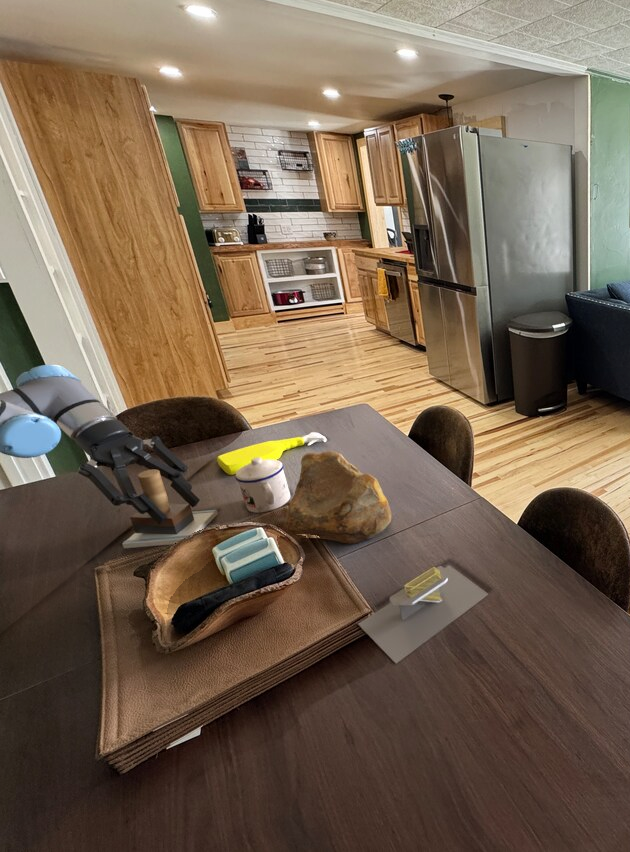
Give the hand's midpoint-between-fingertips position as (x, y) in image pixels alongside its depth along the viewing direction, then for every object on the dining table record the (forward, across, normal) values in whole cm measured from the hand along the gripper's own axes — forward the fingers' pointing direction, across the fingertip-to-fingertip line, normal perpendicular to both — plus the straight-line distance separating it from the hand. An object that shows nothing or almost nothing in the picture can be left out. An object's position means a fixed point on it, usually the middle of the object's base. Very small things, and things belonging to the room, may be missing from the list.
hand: (180, 511), depth 98 cm
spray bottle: (-5, -32, -14) cm, 35 cm away
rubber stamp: (0, +1, -6) cm, 6 cm away
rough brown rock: (+24, -11, +16) cm, 31 cm away
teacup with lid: (+9, -13, +1) cm, 16 cm away
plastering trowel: (+47, +2, +39) cm, 61 cm away
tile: (+1, 0, -7) cm, 7 cm away
